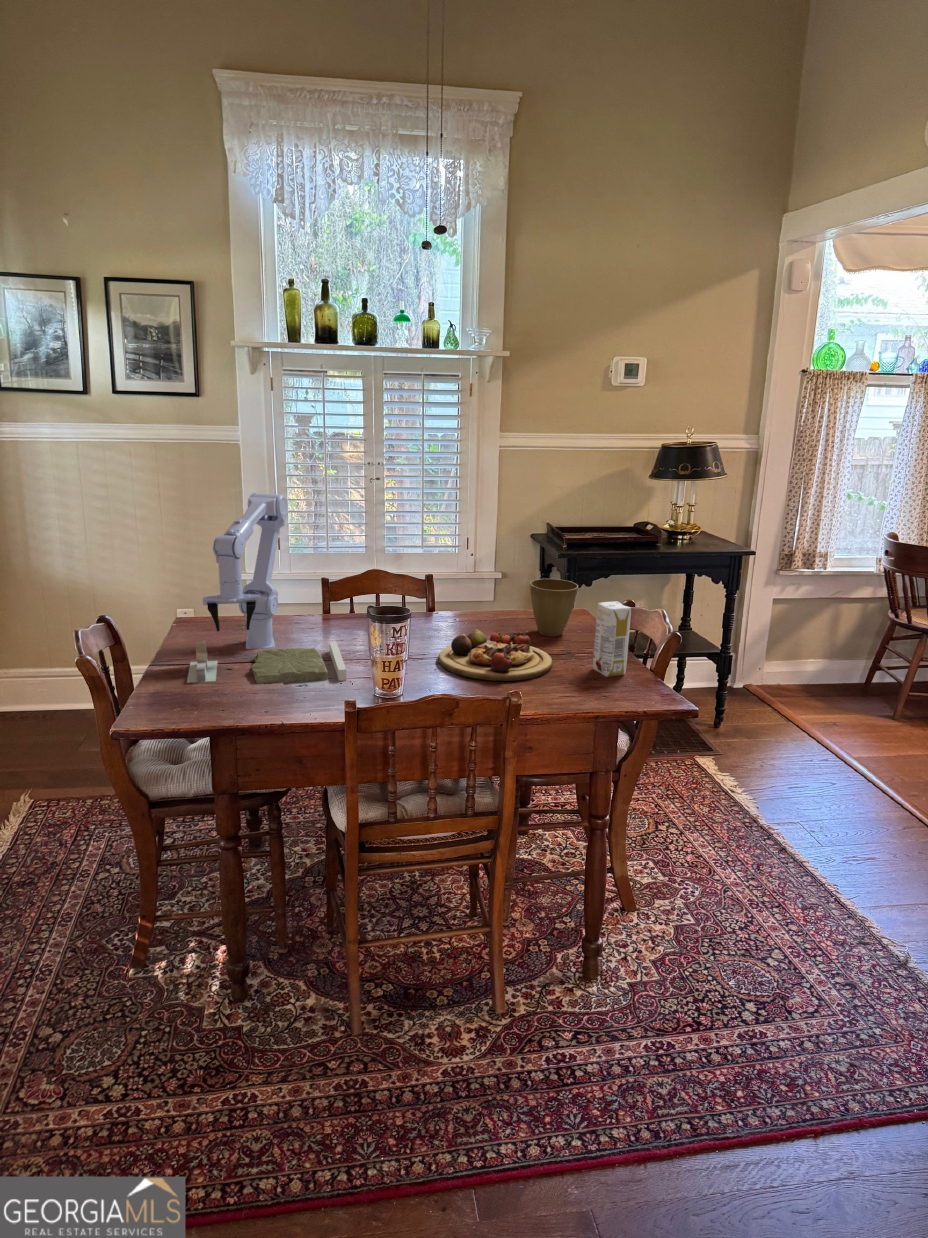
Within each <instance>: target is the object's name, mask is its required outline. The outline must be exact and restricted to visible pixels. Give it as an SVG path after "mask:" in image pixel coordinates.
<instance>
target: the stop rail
mask: <svg viewBox="0 0 928 1238" xmlns="http://www.w3.org/2000/svg"><path fill="white" fill-rule="evenodd" d="M328 644H329V650H328V651H329V654H330V655H329V656H330V658H331V661H332V664H333V667H334V670H335V671H334V672H335V674H336V677H337V680H338V682H339V681H341V682H343V681H347V667H346V665H345V661H344V659H343V656H342V654H341V651H340V649H339V645H338V642H337V641H329V643H328Z"/></svg>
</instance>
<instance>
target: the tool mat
mask: <svg viewBox="0 0 928 1238" xmlns="http://www.w3.org/2000/svg"><path fill="white" fill-rule="evenodd" d="M197 663H198V662H197V661H190V662H189V668H188V673H187V678H186V679H187V680H186V684H188V683H189V684H191V683H198V682H197V672H196V669H197ZM217 670H218V660H208V665H207V673H206V681H200V682H199V683H204V682H205V683H206V682H216V680H217Z"/></svg>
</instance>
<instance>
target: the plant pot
mask: <svg viewBox="0 0 928 1238" xmlns="http://www.w3.org/2000/svg"><path fill="white" fill-rule="evenodd" d="M529 589H530V599H531V605H532V611H533V616H534V620H535V625H536V628H537V631H538V633H539V634H540V635H541V636H547V637H559V636H562V635H563V633H564V631H565V629H566V627H567V625H568V622H569V620H570V617H571V615H572V611H573V609H574V606H575V601H576V597H577V595H578V594H577V593H578V589H579V584H577V583H575V582H573V581H570V580H564V579H559V578H539V579H537V578H536V579H533V580H531V581H529Z"/></svg>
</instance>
